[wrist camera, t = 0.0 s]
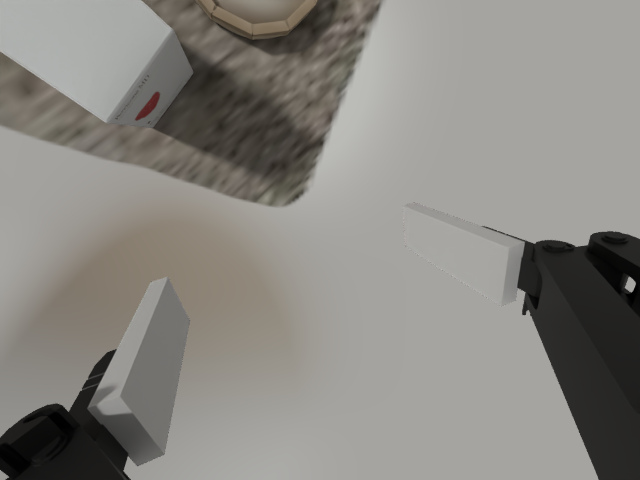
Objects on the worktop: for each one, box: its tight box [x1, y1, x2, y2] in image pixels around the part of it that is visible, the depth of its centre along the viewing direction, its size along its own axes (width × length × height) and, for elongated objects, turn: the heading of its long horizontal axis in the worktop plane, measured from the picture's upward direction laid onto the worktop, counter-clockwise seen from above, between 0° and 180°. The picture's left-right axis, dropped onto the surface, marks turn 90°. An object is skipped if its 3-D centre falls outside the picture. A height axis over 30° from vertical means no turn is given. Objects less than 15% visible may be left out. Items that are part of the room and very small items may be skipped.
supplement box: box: [0, 0, 193, 128], centre depth 24 cm, size 9×9×15 cm
